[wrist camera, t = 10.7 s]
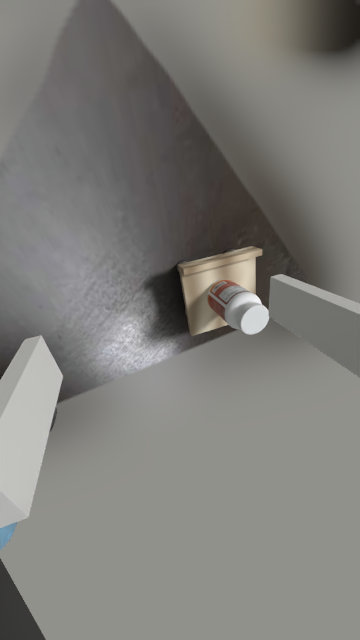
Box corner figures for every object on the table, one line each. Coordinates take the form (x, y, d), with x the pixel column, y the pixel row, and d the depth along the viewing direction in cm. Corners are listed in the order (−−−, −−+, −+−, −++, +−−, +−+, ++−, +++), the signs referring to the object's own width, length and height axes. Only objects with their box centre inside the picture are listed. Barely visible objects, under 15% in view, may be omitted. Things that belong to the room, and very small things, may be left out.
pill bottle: (229, 311, 44) (263, 341, 34) (201, 307, 42) (229, 337, 32) (241, 281, 42) (281, 304, 32) (212, 274, 39) (246, 297, 30)
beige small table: (182, 321, 49) (195, 341, 42) (170, 258, 42) (183, 269, 35) (240, 304, 52) (261, 320, 45) (237, 242, 45) (262, 249, 38)
